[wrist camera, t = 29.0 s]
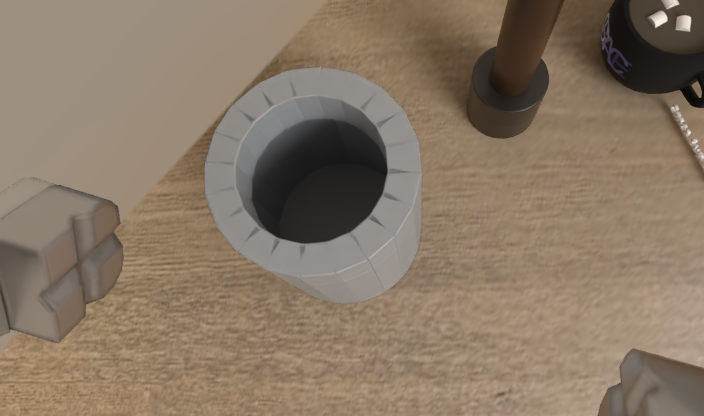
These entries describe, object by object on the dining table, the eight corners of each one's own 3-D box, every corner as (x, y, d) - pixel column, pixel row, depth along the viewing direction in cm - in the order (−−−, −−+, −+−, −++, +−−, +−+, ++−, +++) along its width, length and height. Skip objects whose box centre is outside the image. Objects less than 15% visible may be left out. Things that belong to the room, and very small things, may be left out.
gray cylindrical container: (246, 254, 36) (162, 205, 24) (323, 134, 37) (279, 33, 26) (371, 332, 34) (345, 319, 22) (447, 202, 35) (461, 127, 24)
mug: (569, 31, 37) (605, -47, 30) (667, -7, 37) (726, -95, 30) (664, 211, 34) (730, 171, 27) (771, 170, 34) (865, 119, 27)
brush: (454, 119, 36) (479, -56, 21) (487, 65, 37) (535, -144, 22) (515, 150, 36) (587, -8, 20) (547, 94, 36) (642, -101, 21)
